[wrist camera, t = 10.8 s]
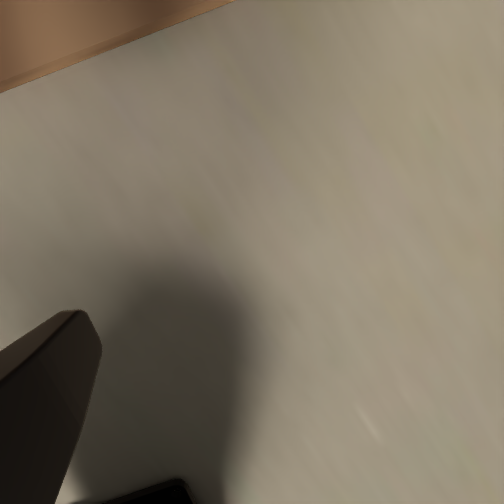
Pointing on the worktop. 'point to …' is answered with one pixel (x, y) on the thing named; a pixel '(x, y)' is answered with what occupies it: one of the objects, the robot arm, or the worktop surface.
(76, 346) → the robot arm
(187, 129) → the worktop surface
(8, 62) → the walnut board
